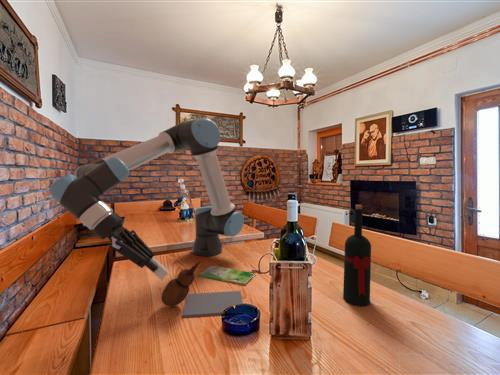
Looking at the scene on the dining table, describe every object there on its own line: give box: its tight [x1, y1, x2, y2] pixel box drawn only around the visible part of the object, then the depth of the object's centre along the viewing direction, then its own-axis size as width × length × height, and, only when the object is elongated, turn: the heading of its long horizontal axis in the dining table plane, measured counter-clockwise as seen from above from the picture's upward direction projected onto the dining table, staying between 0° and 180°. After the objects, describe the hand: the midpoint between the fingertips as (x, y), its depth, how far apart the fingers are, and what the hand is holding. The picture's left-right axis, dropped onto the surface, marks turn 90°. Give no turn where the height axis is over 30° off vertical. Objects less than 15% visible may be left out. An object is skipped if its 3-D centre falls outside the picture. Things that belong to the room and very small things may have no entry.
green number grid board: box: [198, 265, 257, 287], centre depth 94 cm, size 20×1×10 cm
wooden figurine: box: [161, 261, 201, 308], centre depth 71 cm, size 7×6×15 cm
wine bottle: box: [342, 204, 372, 307], centre depth 74 cm, size 8×10×30 cm
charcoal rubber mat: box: [182, 290, 244, 318], centre depth 74 cm, size 17×12×1 cm
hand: (165, 275), depth 71 cm, fingers closed
